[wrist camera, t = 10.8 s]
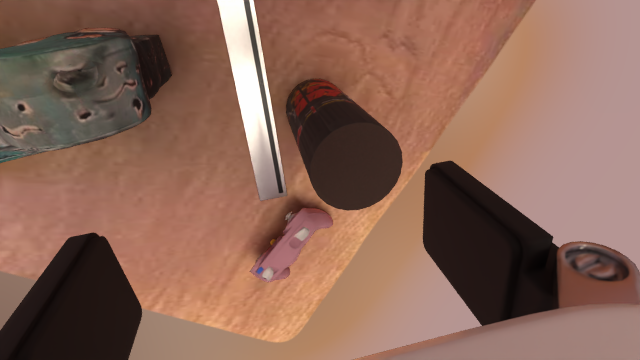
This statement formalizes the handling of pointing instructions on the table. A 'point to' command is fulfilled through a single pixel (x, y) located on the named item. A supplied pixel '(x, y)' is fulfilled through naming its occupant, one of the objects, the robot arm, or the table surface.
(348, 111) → the deodorant
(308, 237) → the video game controller
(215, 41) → the table surface
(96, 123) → the green animal figurine
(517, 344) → the robot arm
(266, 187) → the ruler
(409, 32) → the table surface
